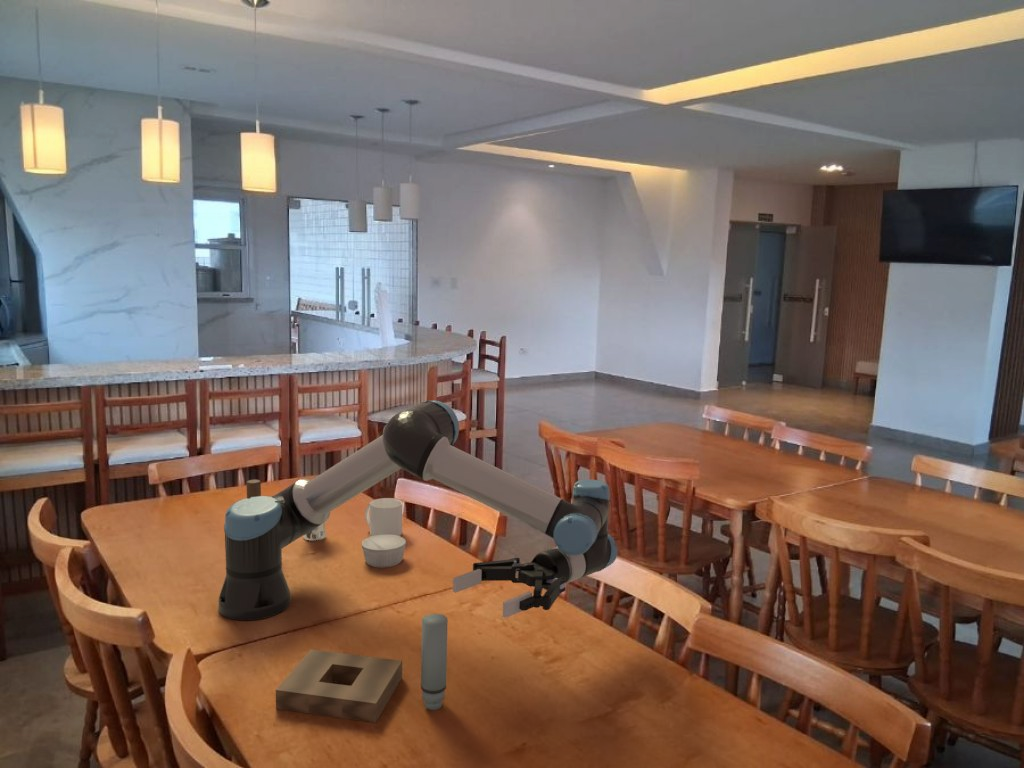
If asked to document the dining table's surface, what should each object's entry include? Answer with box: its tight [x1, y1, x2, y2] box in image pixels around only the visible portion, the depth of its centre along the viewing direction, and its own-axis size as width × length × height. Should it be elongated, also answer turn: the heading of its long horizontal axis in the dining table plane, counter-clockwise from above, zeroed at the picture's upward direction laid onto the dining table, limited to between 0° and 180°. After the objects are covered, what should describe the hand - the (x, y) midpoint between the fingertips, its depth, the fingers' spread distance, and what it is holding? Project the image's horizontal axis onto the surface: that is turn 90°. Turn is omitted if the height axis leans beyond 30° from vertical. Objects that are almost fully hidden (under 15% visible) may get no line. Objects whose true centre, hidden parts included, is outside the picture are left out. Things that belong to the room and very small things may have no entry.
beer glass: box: [303, 522, 327, 542], centre depth 207 cm, size 7×7×15 cm
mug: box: [364, 497, 403, 537], centre depth 212 cm, size 12×9×9 cm
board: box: [275, 649, 403, 724], centre depth 133 cm, size 18×14×4 cm
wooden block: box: [245, 479, 262, 499], centre depth 196 cm, size 4×11×18 cm, turn 41°
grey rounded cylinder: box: [420, 613, 449, 711], centre depth 129 cm, size 4×4×16 cm
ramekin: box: [361, 535, 407, 569], centre depth 193 cm, size 11×11×5 cm
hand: (478, 597), depth 135 cm, fingers open, 13 cm apart
